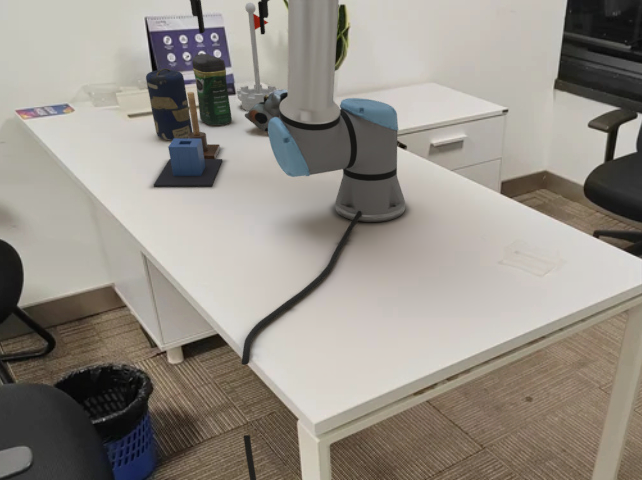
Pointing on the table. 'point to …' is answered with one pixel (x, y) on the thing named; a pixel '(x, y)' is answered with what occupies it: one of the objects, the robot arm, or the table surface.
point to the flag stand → (257, 93)
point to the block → (187, 157)
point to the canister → (169, 104)
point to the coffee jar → (212, 89)
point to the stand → (208, 149)
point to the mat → (189, 181)
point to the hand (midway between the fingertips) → (232, 32)
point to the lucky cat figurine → (266, 109)
